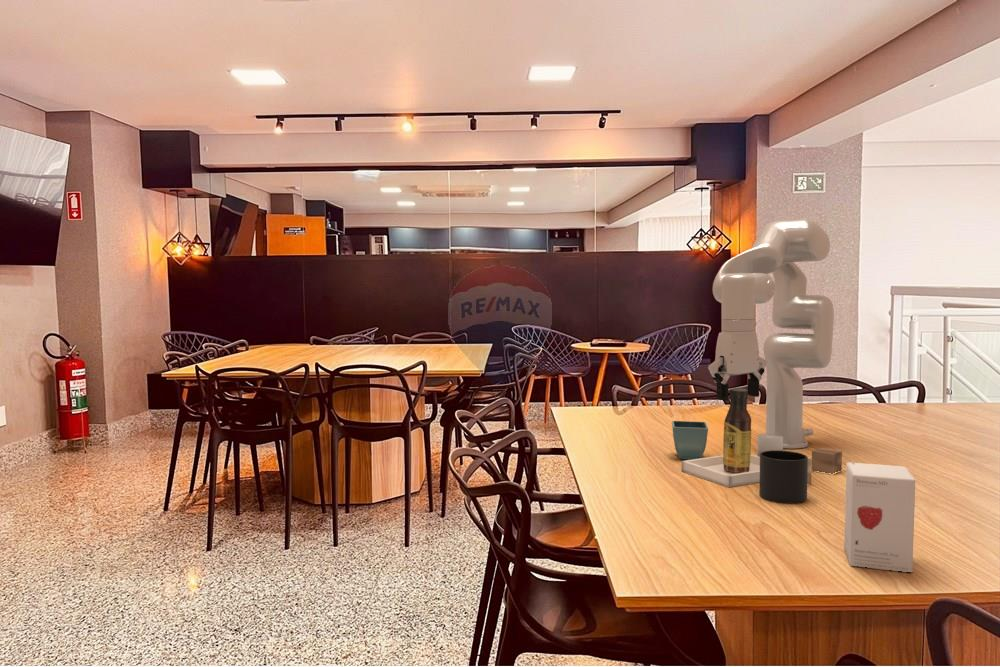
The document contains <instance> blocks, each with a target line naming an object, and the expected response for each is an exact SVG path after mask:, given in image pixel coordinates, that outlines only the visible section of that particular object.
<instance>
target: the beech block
mask: <svg viewBox="0 0 1000 667" xmlns="http://www.w3.org/2000/svg"><path fill="white" fill-rule="evenodd" d="M807 457H808V477H807V484H811V485H812V457H809V456H807Z"/></svg>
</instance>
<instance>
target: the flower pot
mask: <svg viewBox="0 0 1000 667" xmlns="http://www.w3.org/2000/svg"><path fill="white" fill-rule="evenodd" d="M671 425H672V426H671V427H672V435H673V436H672V437H673V443H674V444H673V445H674V449H675V451H676V455H677V456H678V458H679V459H681V460H693V459H700V458H703V457H702V456H704V453H705V451H706V447H707V441H708V433H709V427H708V424H707V422H706V421H689V420H684V421H683V420H671Z"/></svg>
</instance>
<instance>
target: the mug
mask: <svg viewBox="0 0 1000 667" xmlns="http://www.w3.org/2000/svg"><path fill="white" fill-rule="evenodd" d="M808 457H809V456H807V455H806V454H803V453H801V452H796V451H791V450H790V451H789V450H783V451H781V450H772V451H764V452H761V453H760V482H759V486H758V487H759V490H758V491H759V492H758V493H759V495H760V497H761V498H763V499H765V500H767V501H771V502H774V501H775V502H774V503H780V502H781V504H799V503H803V502H806V501H807V499H808V485H807V477H808Z"/></svg>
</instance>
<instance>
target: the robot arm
mask: <svg viewBox="0 0 1000 667" xmlns="http://www.w3.org/2000/svg"><path fill="white" fill-rule="evenodd" d="M830 249H831V241H830V237H829V235H828V234H827V231H825V229H823V227H821V226H820V224H818V223H817V222H815V221H813V220H811V219H805V218H801V219H800V218H799V219H785V220H783V219H782V220H776V221H775V220H774V221H771V222H769V223H767V224H766V225H764V226H763V227H762V228H761V230H760V232H759V234H758V236H757V238H756V239H755V241H754V243H753V245H752V246H751V248H749V249H746V250H745V251H743V252H740V253H739V254H736V255H735V256H733V257H731V258H730V259H728V260H727V261H725V262H724V263H723V264H722V266H721V267H720V269H719V270H718V272H717V274H716V276H715V277H714V280H713V282H712V294H713V297H714V299H715V300H716V301H717V302H719V303H720V304H721V332H719V333H718V336H717V340H716V346H715V359H714V361H713V362H712V363H710V364H708V367H707V369H708V371H709V373H710V377H711V378H712V379H713V382H714V383H716V399H717V400H718V401H724V402H727V401H728V402H729V383H727V382H728V380H729V379H730V377H731V376H739V375H740V376H741V375H747V376H748V377H749V378H748V379H747V390H748V396H750V397H755V398H758V397H760V381H761V380H762V378H763V377H762V376H763V374H764V373H766V406H765V407H766V410H765V411H766V412H765V413H766V414H765V416H766V417H765V424H766V425H765V426H766V427H765V429H766V430H765V434H777V435H781V436H783V449H791V450H792V449H803V448H807V447H808V446H809V441H808V440H806V439H805V438H806V436H807V437H809V436H813V435H814V430H813V429H812V428H804V427H803V412H804V411H803V406H804V402H803V401H804V400H803V398H804V395H803V394H804V384H803V381H802V379H801V377H800V375H799V374H798V372H797V371H796V370H795V369H796V368H797V369H819V370H820V369H824V368H827V367H828V366H829V364H830V362H831V359H832V351H833V334H834V320H835V317H834V316H835V310H834V305H833V302H832V301H831V299H830V298H829V297H827V296H825V295H819V294H818V295H817V294H816V295H815V294H813V295H811V294H810V295H809V294H807V284H808V280H807V276H806V275H805V273H804V272H803V271H802V269H801V268H800V267H799V266H798V265H797V264H796V263H804V262H806V263H809V262H820V261H823V260H825V259H826V258H827V257H828V255H829V253H830ZM771 273H772V275H773V278H772V276H770V275H769V274H771ZM773 279H774V280H773ZM770 300H772V312H771V313H772V315H771V318H772V319H771V320H772V322H773V324H774V326H775V327H777V328H780V329H785V330H786V329H788V330H792V329H793V330H811V331H813V333H799V332H798V333H796V332H779V333H777V332H776V333H773V334H770V335H769V336H767V337H766V339H765V340H764V342H763V356H764V357H762V356H760V351H759V348H760V347H759V342H758V335H757V331H756V326H757V321H756V305H758V304H759V305H761V304H765V303H768V302H769V301H770ZM765 371H766V372H765Z"/></svg>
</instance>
